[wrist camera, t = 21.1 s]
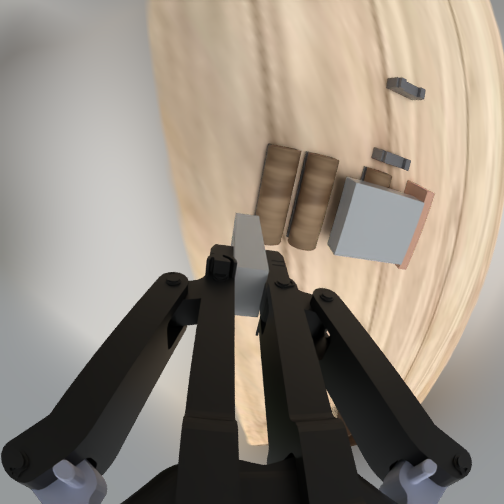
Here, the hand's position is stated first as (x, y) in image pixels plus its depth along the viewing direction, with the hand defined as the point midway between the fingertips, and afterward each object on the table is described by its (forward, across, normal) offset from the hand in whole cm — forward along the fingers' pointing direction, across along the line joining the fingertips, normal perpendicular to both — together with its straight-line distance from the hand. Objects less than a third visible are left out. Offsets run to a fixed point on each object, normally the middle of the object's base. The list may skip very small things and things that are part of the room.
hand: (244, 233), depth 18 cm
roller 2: (+29, +13, -4) cm, 32 cm away
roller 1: (+29, +6, -4) cm, 30 cm away
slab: (+24, +23, -4) cm, 34 cm away
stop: (+29, +33, -4) cm, 44 cm away
